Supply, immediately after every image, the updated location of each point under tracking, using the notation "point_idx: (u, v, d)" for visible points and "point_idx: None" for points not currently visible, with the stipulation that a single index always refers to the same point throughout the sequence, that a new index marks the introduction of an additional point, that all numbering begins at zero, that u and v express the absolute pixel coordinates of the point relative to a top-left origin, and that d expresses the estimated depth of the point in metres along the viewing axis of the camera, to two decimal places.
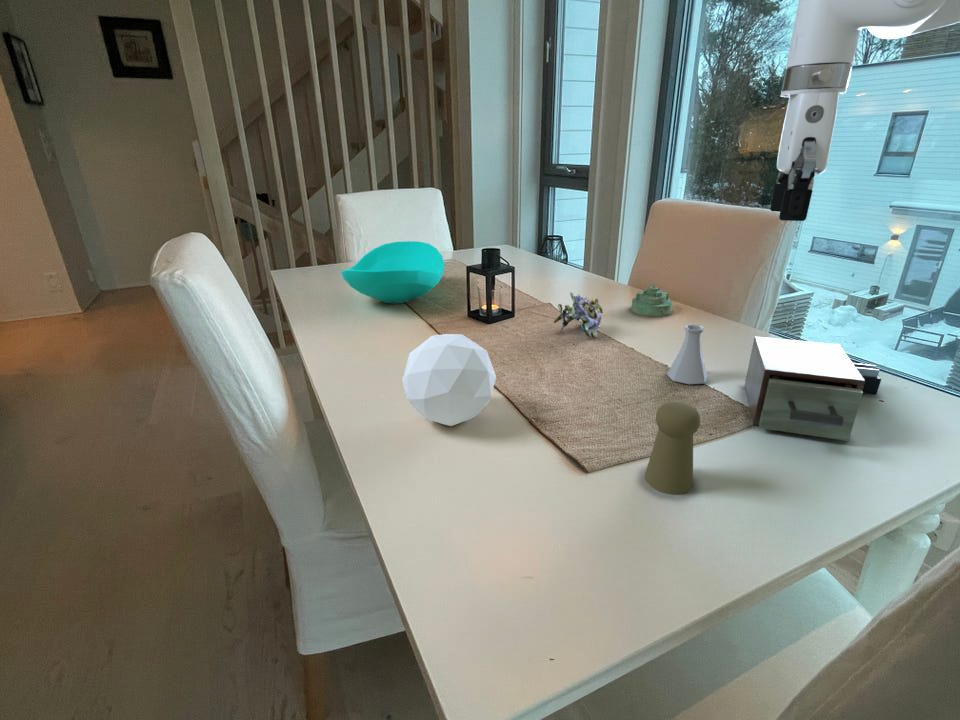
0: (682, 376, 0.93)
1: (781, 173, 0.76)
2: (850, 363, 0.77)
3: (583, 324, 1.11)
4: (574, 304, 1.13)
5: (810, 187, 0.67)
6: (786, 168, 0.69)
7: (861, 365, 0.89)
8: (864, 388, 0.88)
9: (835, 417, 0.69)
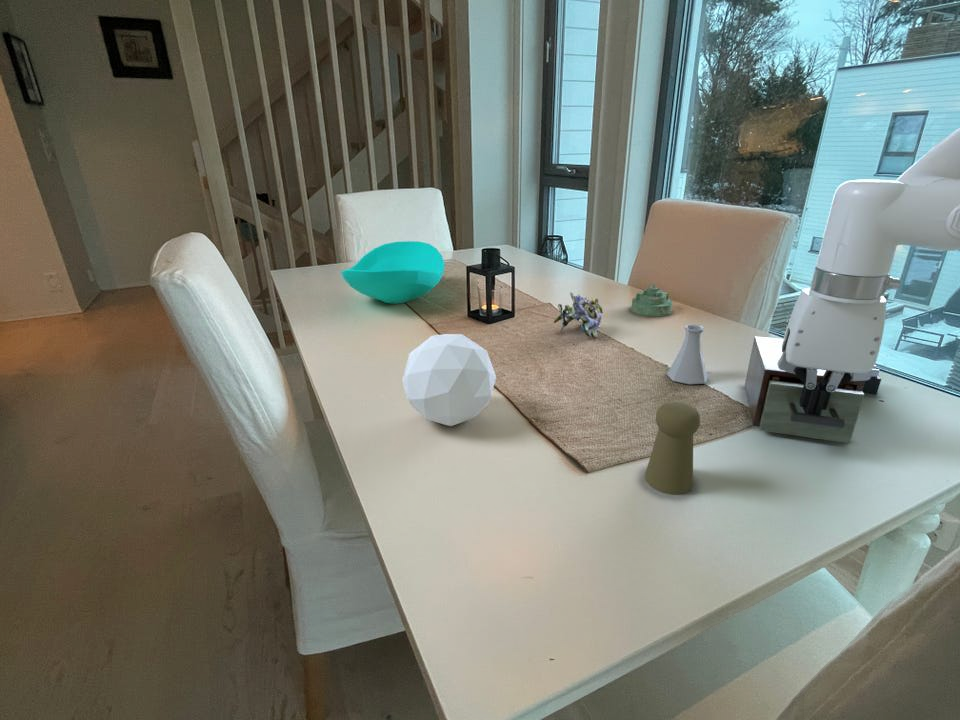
0: (682, 376, 0.93)
1: (816, 373, 0.68)
2: None
3: (583, 324, 1.11)
4: (574, 304, 1.13)
5: None
6: (868, 370, 0.65)
7: None
8: (864, 388, 0.88)
9: (836, 419, 0.68)
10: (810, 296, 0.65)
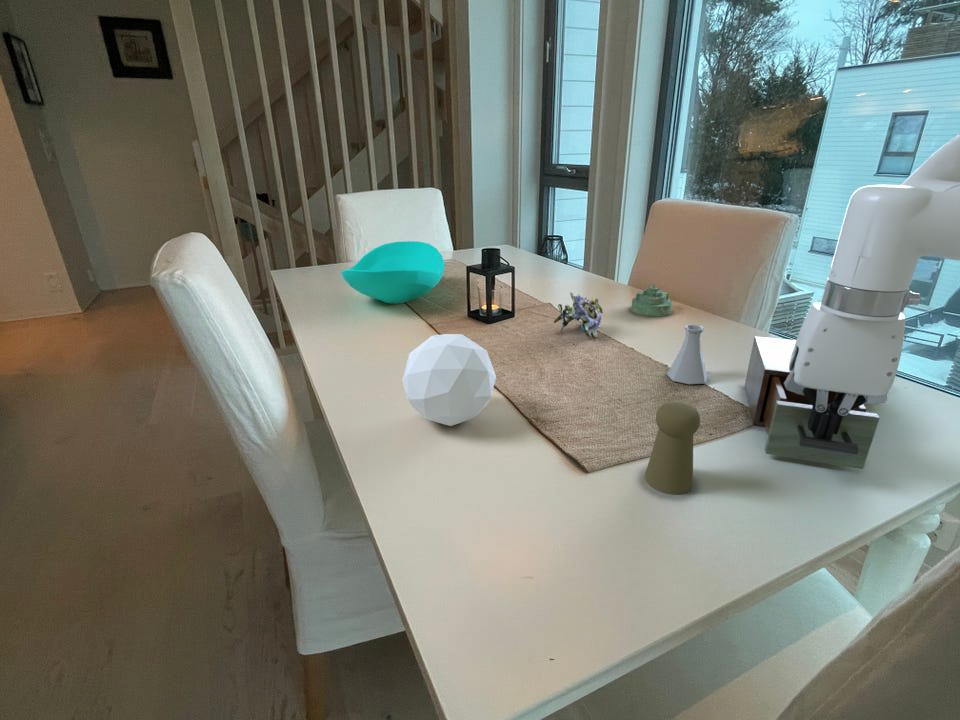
0: (682, 376, 0.93)
1: (827, 395, 0.63)
2: None
3: (583, 324, 1.11)
4: (574, 304, 1.13)
5: None
6: (884, 393, 0.60)
7: None
8: None
9: (849, 445, 0.63)
10: (821, 312, 0.59)
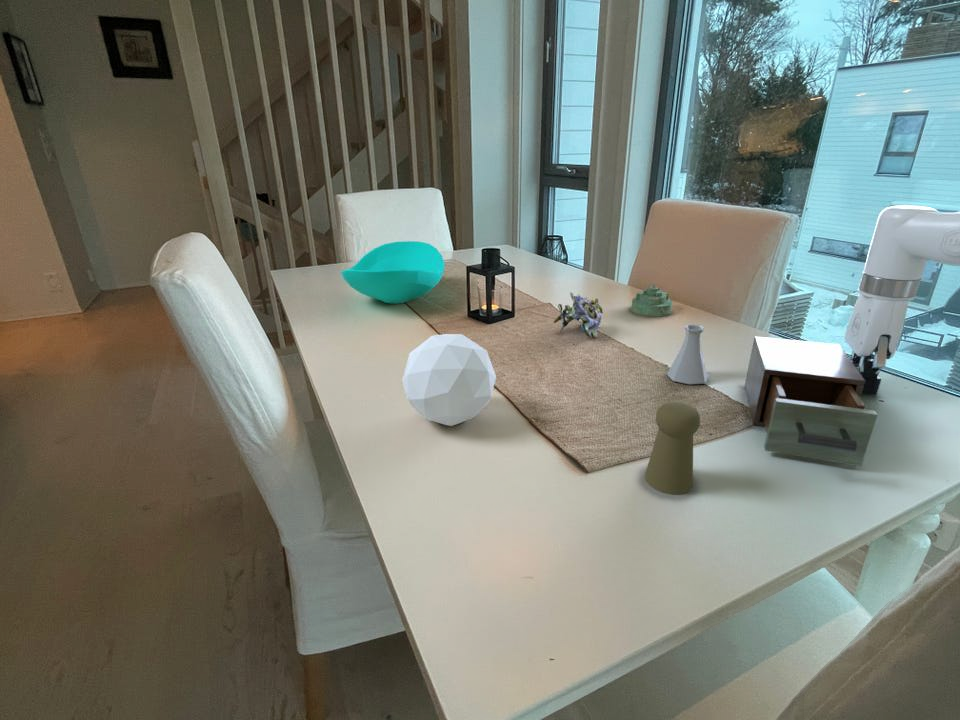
0: (682, 376, 0.93)
1: None
2: (850, 363, 0.77)
3: (583, 324, 1.11)
4: (574, 304, 1.13)
5: (851, 359, 0.91)
6: None
7: None
8: None
9: (848, 442, 0.63)
10: (906, 302, 0.79)
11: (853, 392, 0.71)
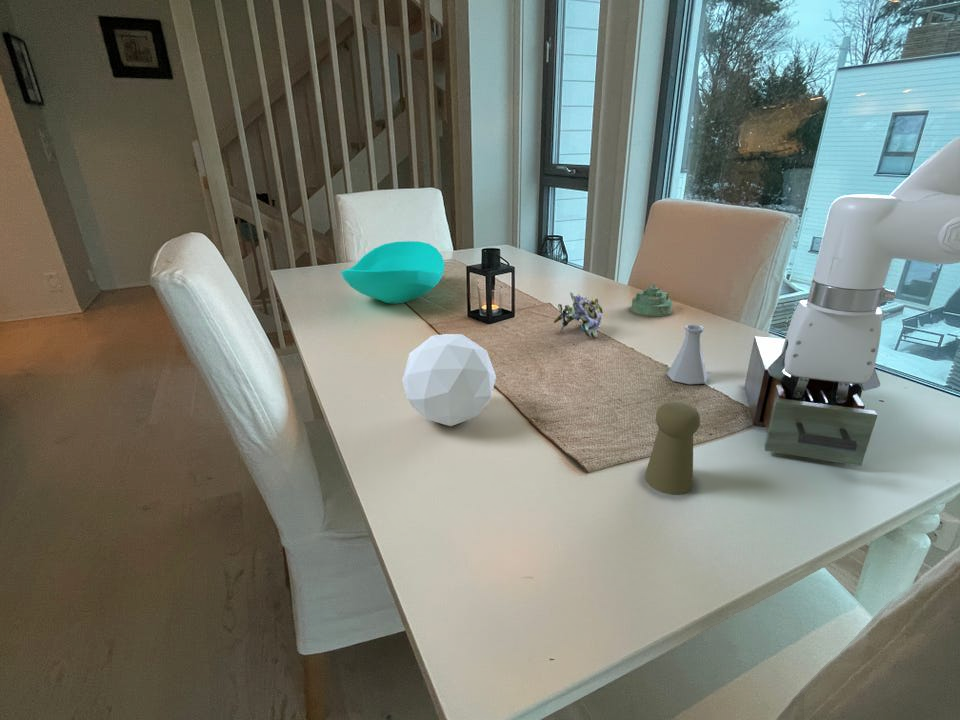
0: (682, 376, 0.93)
1: None
2: None
3: (583, 324, 1.11)
4: (574, 304, 1.13)
5: None
6: (865, 380, 0.66)
7: (822, 396, 0.71)
8: None
9: (848, 442, 0.63)
10: (807, 308, 0.66)
11: None
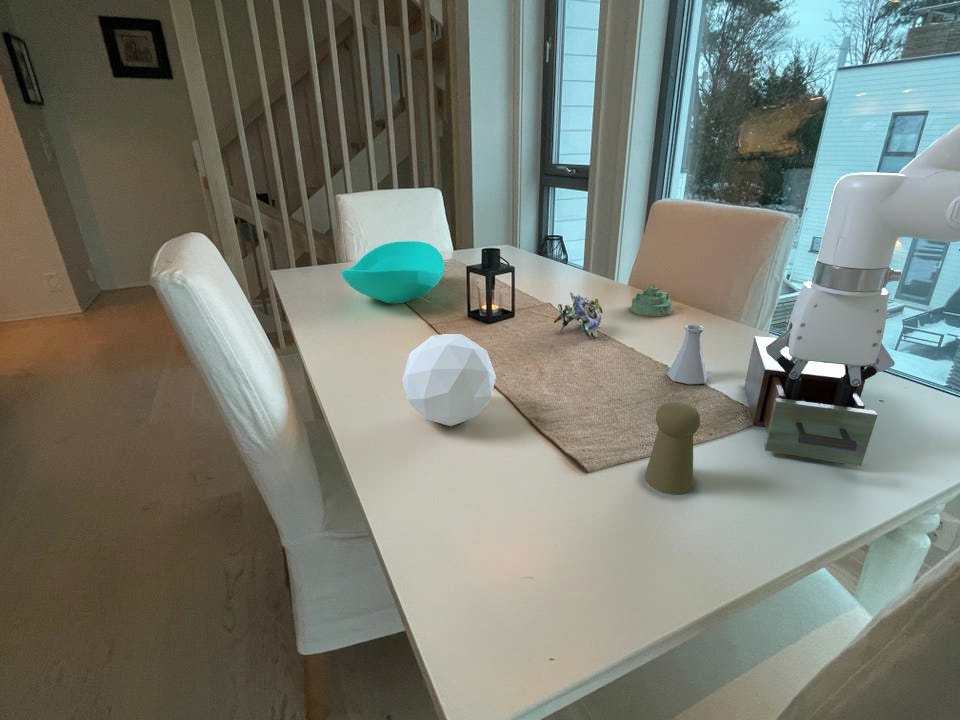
0: (682, 376, 0.93)
1: (805, 365, 0.69)
2: None
3: (583, 324, 1.11)
4: (574, 304, 1.13)
5: None
6: (871, 362, 0.65)
7: None
8: None
9: (848, 442, 0.63)
10: (812, 289, 0.65)
11: None
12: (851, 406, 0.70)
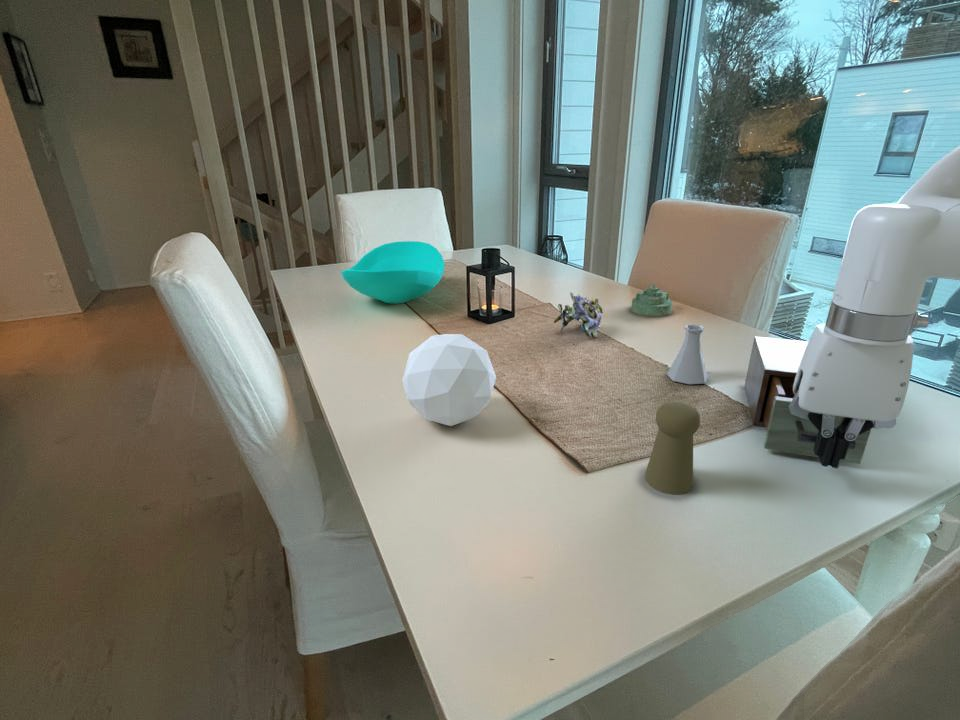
0: (682, 376, 0.93)
1: None
2: None
3: (583, 324, 1.11)
4: (574, 304, 1.13)
5: None
6: (893, 418, 0.57)
7: None
8: None
9: None
10: (826, 335, 0.57)
11: None
12: None
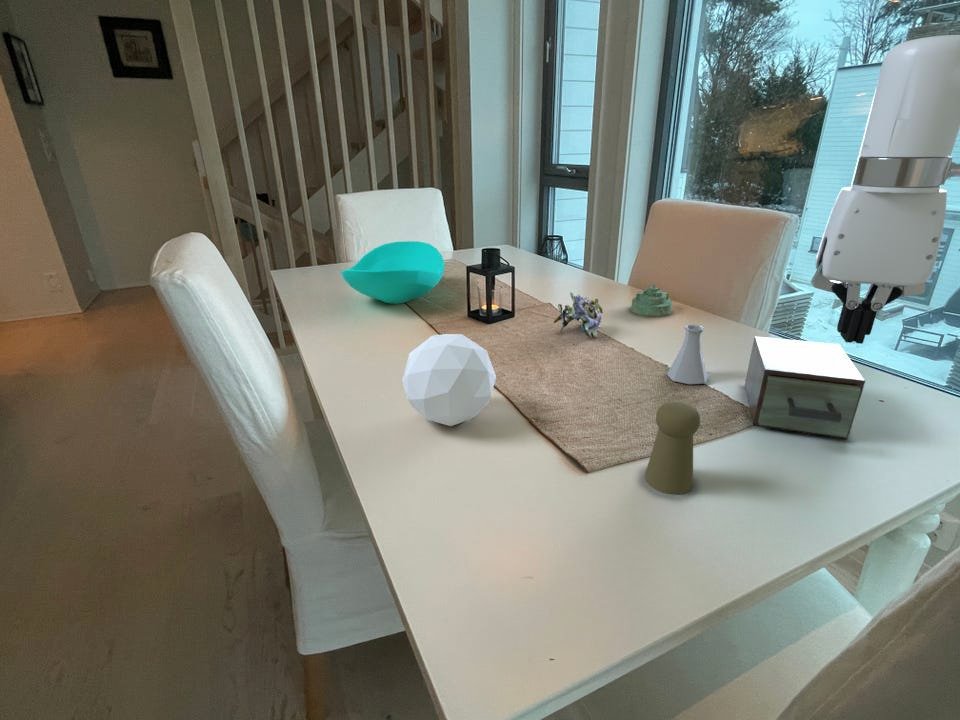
0: (682, 376, 0.93)
1: (859, 288, 0.57)
2: (850, 363, 0.77)
3: (583, 324, 1.11)
4: (574, 304, 1.13)
5: None
6: (924, 280, 0.55)
7: None
8: None
9: (833, 414, 0.70)
10: (853, 191, 0.54)
11: None
12: (838, 383, 0.76)
